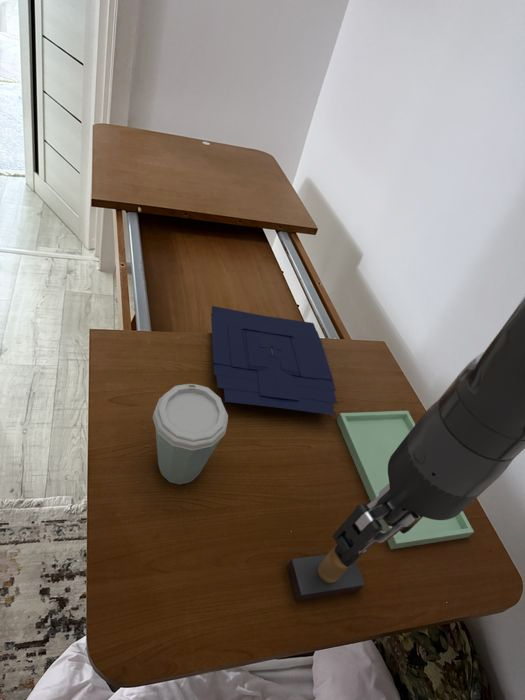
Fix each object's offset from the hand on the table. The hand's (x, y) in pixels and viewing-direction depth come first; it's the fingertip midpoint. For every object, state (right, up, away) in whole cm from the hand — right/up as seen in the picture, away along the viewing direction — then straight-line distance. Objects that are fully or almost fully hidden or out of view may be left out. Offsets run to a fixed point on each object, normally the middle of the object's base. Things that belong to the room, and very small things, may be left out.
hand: (371, 540), depth 54 cm
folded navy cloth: (-10, +17, +49) cm, 53 cm away
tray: (+13, -2, +38) cm, 40 cm away
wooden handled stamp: (-3, -13, +20) cm, 24 cm away
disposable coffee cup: (-25, +2, +26) cm, 37 cm away
